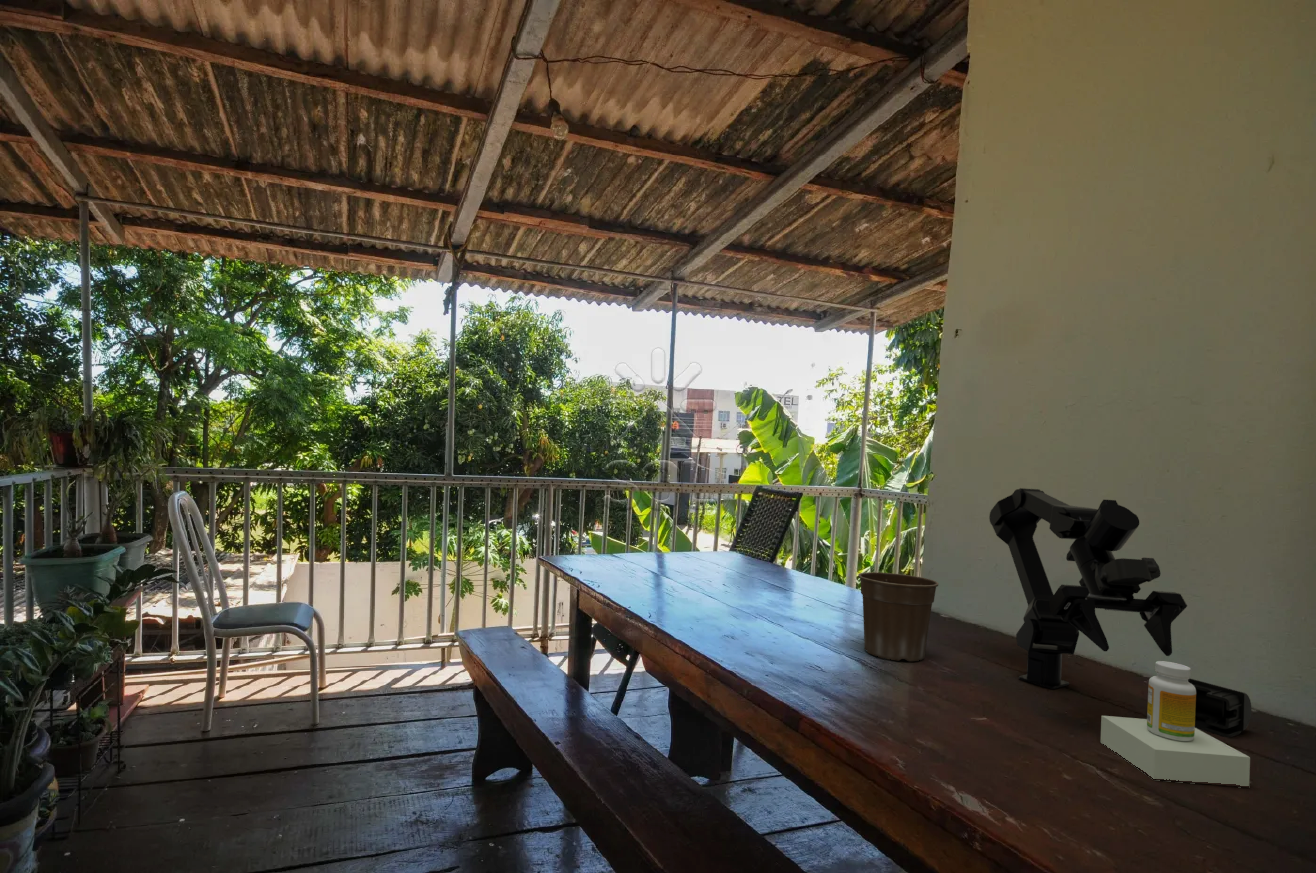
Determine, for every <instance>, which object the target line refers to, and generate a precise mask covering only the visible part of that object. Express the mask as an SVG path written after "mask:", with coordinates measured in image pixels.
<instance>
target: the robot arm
mask: <svg viewBox="0 0 1316 873" xmlns="http://www.w3.org/2000/svg"><path fill="white" fill-rule="evenodd" d="M988 519H989V523H990V525H991V526H992V529H993V531H994V533H995V535H996V536H997V538H999V539H1000V540H1002V542H1004V544H1006V545H1007V547H1008V548H1009V552H1010V554H1011V557H1012V560H1013V564H1014V567H1015V568H1016V572H1017V576H1018V579H1019V582H1020V584H1021V588H1022V591H1023V593H1024V597H1025V600H1026V603H1027V609H1026V610H1025V613H1024V615H1023V618H1022V619H1023V623H1022V625H1021V627H1020V628H1019V629H1018V631H1017V632H1016V635H1015V636H1016V644H1017V646H1019V647H1020V648H1021V649H1024V650H1026V651H1027V662H1026V663H1027V664H1026V674H1023V675H1019V676H1018V680H1020V681H1021V680H1022V681H1025V682H1028V683H1030V684H1034V685H1038V686H1041V687H1044V688H1047V689H1051V690H1054V689H1059V688H1063V687H1066V686H1069V685H1070V682H1069V681H1066V680H1062V664H1063V663H1062V661H1063V654H1064V655H1070V656H1071V655H1075V652H1076V649H1077V648H1076V647H1077V643H1078V640H1079V636H1080V632H1081V633H1082V634H1083V635H1084V636H1086V637H1087V638H1088V639H1089V640H1090V641H1092V643H1094V644H1095V645H1096V646H1097V647H1098V648H1100V650H1101V651H1103V652H1108V651H1109V649H1110V646H1109V642H1108V639H1107V637H1106V635H1105V632H1104V630H1103V628H1102V625H1101V624H1100V621H1099V619H1098V617H1097V615H1096V609H1101V610H1102V609H1103V610H1104V611H1115V612H1116V611H1117V612H1131V613H1139V615H1140V617H1141V619H1142V620H1143V621H1144V622H1145V623H1144V624H1143V626H1144V628H1145V630H1146V631H1147V632H1148V634H1149V635H1150V636H1151V637H1152V639H1153V641H1154V642H1155V644H1156V645H1157V647H1158V648H1159V650H1160V651H1161V652H1162V653H1163V654H1164V655H1165V657H1166V656H1167V657H1170V656H1171V655H1172V653H1173V646H1172V645H1173V644H1172V623H1173V622H1174V621H1175V620H1176V618H1178V617H1179V615H1180V614H1182V612H1183V611H1184V610H1185V609H1186V608H1187V607H1188V604H1187V603H1186V601H1185V598H1184V597H1183V596H1182V594H1181V593H1179V592H1175V591H1163V590H1161V591H1160V590H1152V591H1151V592H1150V594H1148V596H1147V597H1146V598H1145V599H1144V598H1135V597H1134V594H1138V593H1139V592H1140V591H1141V589H1142V588H1141V587H1140V586H1141V585H1142V584H1144V583H1147V582H1148V583H1149V582H1152V581H1153V580H1156V579H1158V578H1160V576H1161V569H1160V566H1159V565H1158V563H1157V562H1156V560H1155V558H1154V557H1142V558H1141V559H1138V558H1137V559H1136V558H1123V557H1122V558H1116V557H1115V555H1114V554H1113V552H1117V551H1120V550H1121V549H1122V548H1123V546H1125V544H1126V543H1127V542H1128V540H1130V538H1131V536H1133V534H1134V533H1135V531H1136V530H1137V529H1138V527H1139V525H1140V519H1139V516H1138V515H1137V514H1136V513H1134V512H1133V511H1131V510H1130V509H1129V508H1126V507H1125V506H1123V505H1120V504H1119V503H1118V502H1117V500H1116V499H1102V501H1101V502H1100V504H1099V506H1098V508H1091V507H1085V506H1076V505H1075V506H1074V505H1069V504H1068V503H1066V502H1064V501H1062V500H1059V499H1057V498H1056V497H1053V496H1052V495H1049V494H1047V493H1045V492H1044V491H1043V490H1041V489H1038V488H1037V489H1036V488H1025V487H1022V488H1021V487H1020V488H1018V489H1015V490H1014V492H1012V494H1011V495H1008V496H1006V497H1004V498H1001V499H999V500H998V501H997V502H996V503H995V504H994V506H993V507H992V508H991V510H990V512H989V518H988ZM1041 520H1044V521H1045V522H1047V523H1049V530H1050V532H1052V533H1053V534H1054V535H1055V536H1056V537H1057V538H1059V539H1062V540H1063V539H1064V540H1074V541H1073V542H1072V544H1071V545H1070V547H1069V550H1068V551H1067V553H1066V557H1065V558H1066V561H1068V562H1075V564H1076V567H1077V569H1078V571H1079V573H1080V576H1081V578H1080V580H1079V581H1078V583H1079V585H1077V584H1076V585H1075V584H1074V585H1073V584H1060V586H1059V587H1058V588H1057V590H1055V593H1054V592H1053V589H1052V587H1051V584H1050V581H1049V578H1048V576H1047V573H1046V571H1045V568H1044V564H1043V562H1042V560H1041V557H1040V554H1039V550H1038V549H1037V545H1036V543H1035V540H1034V535H1035V533H1036V530H1037V528H1038V524H1039V522H1040V521H1041Z"/></svg>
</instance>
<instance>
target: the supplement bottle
mask: <svg viewBox="0 0 1316 873" xmlns="http://www.w3.org/2000/svg"><path fill="white" fill-rule="evenodd" d="M1154 666H1155V667H1154V671H1155V673H1156V675H1154V676H1151V677H1150V678H1149V679H1148V683H1147V684H1148V686H1147V687H1148V691H1147V692H1148V693H1147V709H1146V710H1147V713H1146V719H1147V728H1148V730H1149V731H1150V732H1152V733H1154V734H1156V735H1159V736H1162V737H1165V738H1168V739H1172V740H1177V741H1192V740H1193V739H1194V734H1195V708H1196V689H1195V687H1194V686H1193V685H1192V684H1191V683H1189V682H1188V679H1191V675H1192V673H1191V672H1192V671H1191V670H1192V669H1191V667H1189V666H1186V665H1184V664H1181V663H1176V662H1173V661H1172V662H1171V661H1163V660H1157V661H1156V662H1155V665H1154Z"/></svg>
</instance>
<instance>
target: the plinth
mask: <svg viewBox="0 0 1316 873" xmlns="http://www.w3.org/2000/svg"><path fill="white" fill-rule="evenodd" d="M1100 720H1101V722H1100V743H1101V744H1102V745H1103V744H1104V745H1103V746H1105V745H1106V746H1107V748H1108V749H1109V748H1110V749H1111V751H1112V750H1113V751H1114V752H1113V751H1112V752H1113V753H1115V752H1117V753H1118V754H1119V755H1121V756H1122V757H1123V758H1125V759H1126V760H1128V761H1129V762H1131V763H1132V764H1133V765H1135V766H1136V767H1138V768H1140V769H1141V770H1143V771H1144V772H1146V773H1147V774H1148V775H1149V776H1151V777H1152V778H1153V779H1164V780H1166V779H1167V780H1169V779H1170V780H1176V781H1178V780H1179V781H1192V782H1208V783H1221V784H1236V785H1240V786H1249V787H1250V774H1251V773H1250V772H1251V770H1250V769H1251V768H1250V767H1251V757H1250V756H1249V755H1247V754H1245V753H1243V752H1241V751H1240V750H1238V749H1235V748H1234V747H1231V746H1230V745H1227V744H1226V743H1225V742H1223V741H1221V740H1219V739H1217V738H1215V737H1213V736H1212V735H1210V734H1208V733H1206V732H1204V731H1203V730H1201V729H1197V728H1195V734H1194V739H1193V740H1192V741H1177V740H1172V739H1168V738H1165V737H1162V736H1159V735H1156V734H1154V733H1152V732H1150V731H1149V730H1148V728H1147V718H1135V717H1124V716H1123V717H1122V716H1112V715H1110V716H1109V715H1101V719H1100ZM1106 746H1105V747H1106ZM1110 749H1109V750H1110ZM1118 754H1117V755H1118ZM1119 755H1118V756H1119ZM1122 757H1121V758H1122ZM1123 758H1122V759H1123ZM1125 759H1124V760H1125ZM1126 760H1125V761H1126ZM1128 761H1127V762H1128ZM1129 762H1128V763H1129ZM1132 764H1131V765H1132ZM1133 765H1132V766H1133ZM1135 766H1134V767H1135ZM1136 767H1135V768H1136ZM1138 768H1137V769H1138ZM1149 776H1148V777H1149ZM1152 778H1151V779H1152ZM1153 779H1152V780H1153Z"/></svg>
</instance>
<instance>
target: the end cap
mask: <svg viewBox="0 0 1316 873" xmlns="http://www.w3.org/2000/svg"><path fill="white" fill-rule="evenodd" d="M1188 682H1189V683H1191V684H1192V685H1193V686H1194V687H1195V689H1196V708H1195V728H1197V729H1198V730H1200V731H1203V732H1204V731H1205V732H1207V733H1211V734H1214V735H1217V736H1220V737H1223V738H1227V739H1230V738H1233V737H1235V736H1238V735H1240V734H1242V732H1244V731H1245V730H1246V729H1247V728H1248V726H1249V723H1250V721H1251V718H1252V717H1251V716H1252V703H1251V702H1252V701H1251V698H1250V696H1249V694H1247V693H1246V692H1242V691H1238V690H1236V689H1231V688H1228V687H1224V686H1220V685H1217V684H1212V683H1208V682H1205V681H1200V680H1199V679H1194V678H1190V679H1188Z"/></svg>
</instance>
